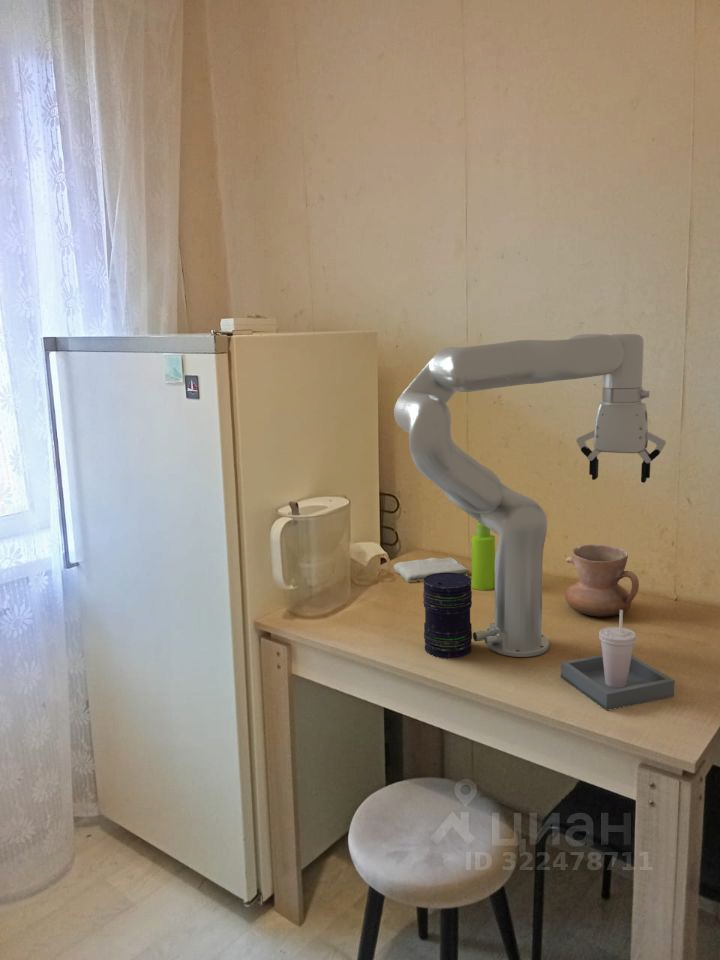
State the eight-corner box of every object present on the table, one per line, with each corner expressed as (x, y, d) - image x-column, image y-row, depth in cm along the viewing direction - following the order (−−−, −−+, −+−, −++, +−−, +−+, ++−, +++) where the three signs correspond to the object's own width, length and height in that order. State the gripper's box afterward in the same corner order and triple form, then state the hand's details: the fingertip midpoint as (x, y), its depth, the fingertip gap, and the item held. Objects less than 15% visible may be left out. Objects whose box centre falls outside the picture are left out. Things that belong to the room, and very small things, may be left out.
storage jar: (441, 635, 167) (440, 569, 165) (481, 646, 161) (481, 577, 158) (414, 651, 160) (413, 582, 157) (455, 663, 154) (454, 591, 151)
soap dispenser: (464, 585, 199) (463, 509, 196) (488, 581, 201) (488, 506, 198) (474, 592, 194) (473, 514, 190) (499, 588, 196) (499, 511, 192)
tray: (606, 710, 133) (606, 694, 133) (560, 677, 146) (561, 662, 146) (673, 696, 137) (674, 680, 137) (623, 664, 150) (624, 650, 150)
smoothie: (639, 690, 138) (642, 616, 136) (603, 691, 139) (605, 617, 136) (628, 675, 145) (630, 603, 142) (593, 675, 145) (595, 604, 142)
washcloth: (471, 577, 207) (470, 566, 206) (407, 585, 202) (407, 574, 201) (453, 565, 218) (453, 554, 217) (392, 572, 213) (392, 561, 213)
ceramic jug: (547, 609, 181) (549, 550, 178) (583, 593, 190) (585, 537, 187) (617, 631, 168) (620, 569, 164) (652, 613, 177) (655, 553, 174)
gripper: (669, 395, 156) (666, 479, 159) (581, 394, 163) (579, 474, 167) (665, 398, 149) (662, 486, 152) (574, 397, 157) (572, 481, 160)
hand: (619, 479), depth 159 cm, fingers open, 9 cm apart
